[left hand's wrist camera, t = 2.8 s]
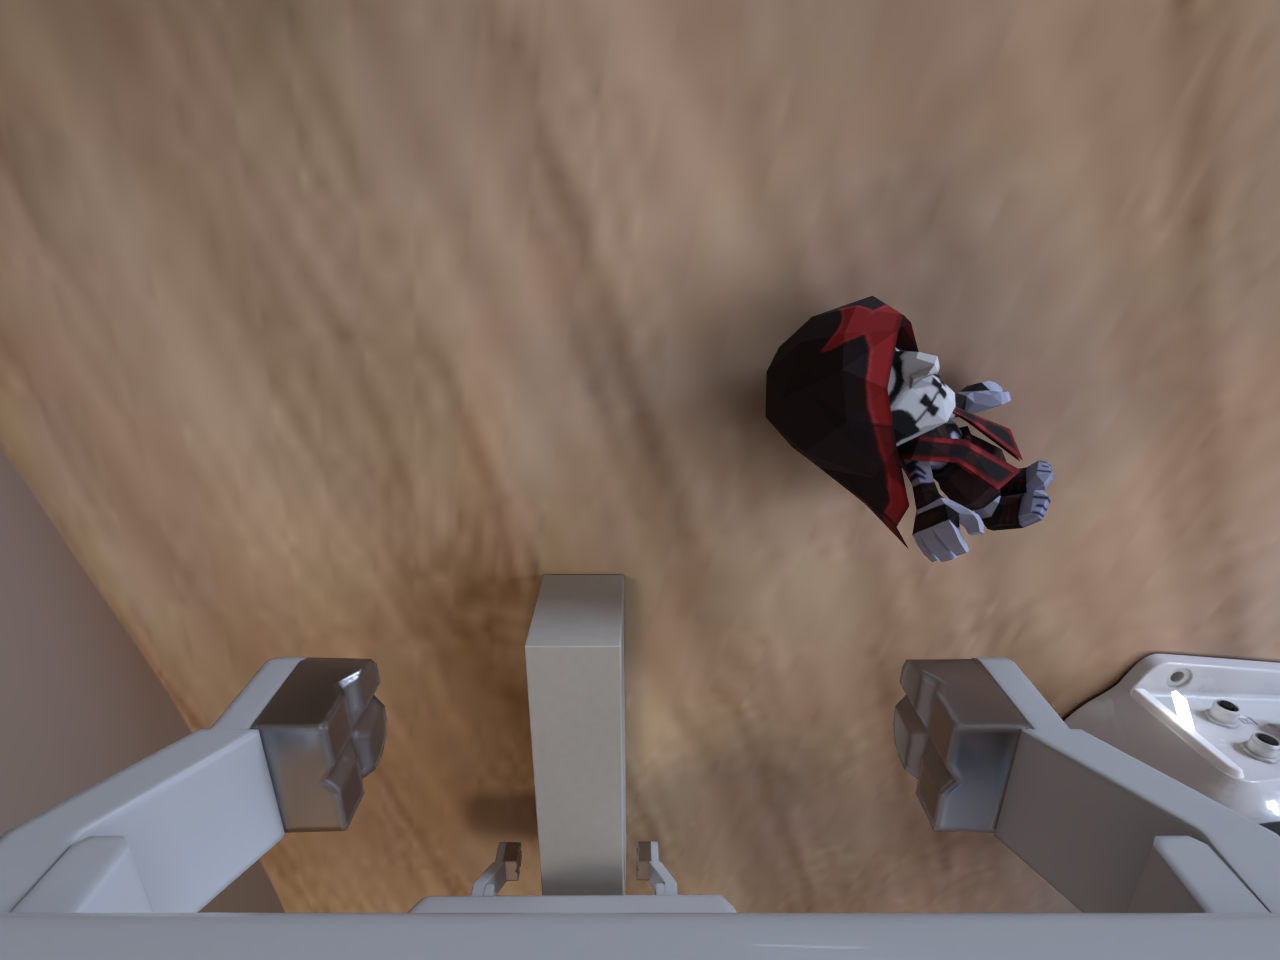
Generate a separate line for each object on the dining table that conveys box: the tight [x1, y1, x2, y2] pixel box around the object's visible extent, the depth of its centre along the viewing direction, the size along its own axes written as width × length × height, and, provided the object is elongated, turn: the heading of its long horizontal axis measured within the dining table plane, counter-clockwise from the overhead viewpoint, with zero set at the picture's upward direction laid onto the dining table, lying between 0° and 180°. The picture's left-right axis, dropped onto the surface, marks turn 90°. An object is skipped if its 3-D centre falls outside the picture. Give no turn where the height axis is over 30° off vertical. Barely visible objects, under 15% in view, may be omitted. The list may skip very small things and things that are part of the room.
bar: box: [525, 575, 626, 896], centre depth 45 cm, size 24×5×8 cm, turn 0°
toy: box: [766, 296, 1054, 562], centre depth 36 cm, size 12×9×15 cm
